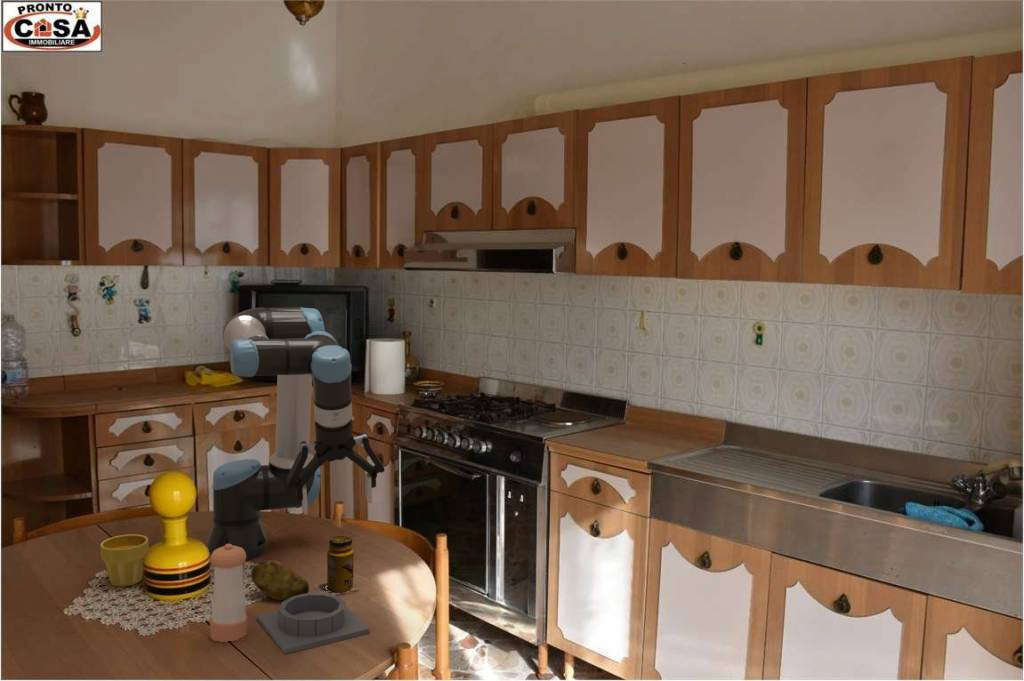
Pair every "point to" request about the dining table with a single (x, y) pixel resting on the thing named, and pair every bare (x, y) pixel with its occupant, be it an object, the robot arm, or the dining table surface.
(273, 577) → the potato
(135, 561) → the plant pot
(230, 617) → the salt shaker
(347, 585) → the condiment
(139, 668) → the dining table surface
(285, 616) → the collar stand
